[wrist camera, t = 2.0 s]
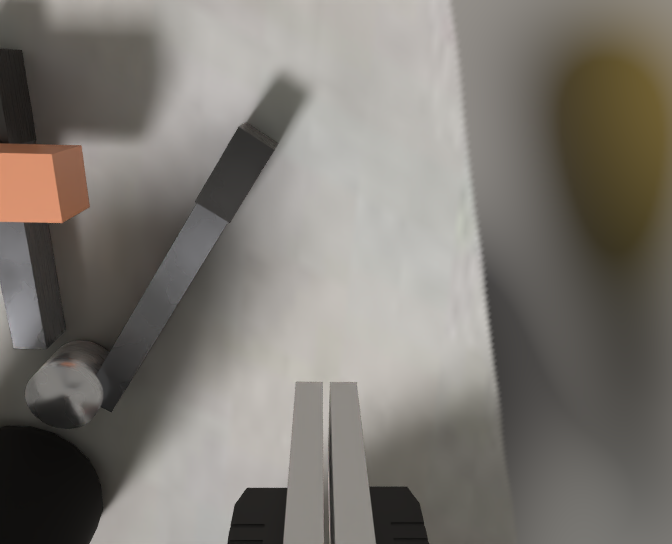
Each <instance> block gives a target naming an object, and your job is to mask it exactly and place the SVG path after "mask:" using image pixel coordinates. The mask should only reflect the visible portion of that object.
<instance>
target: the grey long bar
mask: <svg viewBox="0 0 672 544" xmlns="http://www.w3.org/2000/svg"><path fill="white" fill-rule="evenodd" d="M277 145H278V143H277V142H275V141H274V140H272V139H271V138H269V137H267V136H266V135H264V134H263V133H261V132H260V131H258V130H257V129H255V128H254V127H252V126H251V125H249V124H248V123H246V122H245V123H244V124H242V125H241V126H239V127H238V129H237V131H236V132H235V134H234V136H233V137H232V139H231V141H230V143H229V144H228V146H227V148H226V149H225V151H224V153H223V155H222V156H221V158H220V160H219V161H218V163H217V165H216V167H215V168H214V170H213V172H212V173H211V175H210V177H209V179H208V180H207V182H206V184H205V185H204V187H203V189H202V191H201V192H200V194H199V196H198V197H197V199H196V201H195V202H196V203H197V204H196V206H195V207H194V209H193V211H192V212H191V214H190V216H189V217H188V219H187V221H186V223H185V224H184V226H183V228H182V229H181V231H180V233H179V235H178V236H177V238H176V240H175V241H174V243H173V245H172V247H171V248H170V250H169V252H168V253H167V255H166V257H165V258H164V260H163V262H162V264H161V265H160V267H159V269H158V270H157V272H156V274H155V276H154V277H153V279H152V281H151V282H150V284H149V286H148V288H147V289H146V291H145V293H144V294H143V296H142V298H141V299H140V301H139V303H138V305H137V306H136V308H135V310H134V311H133V313H132V315H131V317H130V318H129V320H128V322H127V323H126V325H125V327H124V329H123V330H122V332H121V334H120V335H119V337H118V339H117V340H116V342H115V344H114V346H113V347H112V349H111V351H110V352H108V351H107V350H106V349H105V348H103V347H102V346H100V345H98V344H96V343H93V342H89V341H72V342H69V343H66V344H64V345H63V346H61V347H60V348H59V349H58V350H57V351H56V352H55V353H54V354H53V355H52V356H51V357H50V358H49V359H48V360H47V361H46V363H45V364H44V365H43V366H42V367H41V368H40V369H39V370H38V371H37V372H36V373H35V374H34V375H33V376H32V377H31V378H30V380H29V381H28V383H27V385H26V388H25V399H26V402H27V405H28V407H29V409H30V410H31V412H32V413H33V414H34V415H35V416H36V417H37V418H38V419H40V420H41V421H42V422H44V423H46V424H48V425H50V426H53V427H57V428H63V429H71V428H77V427H80V426H83V425H85V424H87V423H88V422H89V421H90V420H91V419H92V418H93V417H94V416H95V414H96V413H97V411H98V410H99V408H100V407H102V408H104V409H106V410H108V411H110V412H112V411H113V409H114V407H115V406H116V404H117V402H118V401H119V399H120V398H121V396H122V394H123V393H124V391H125V390H126V388H127V386H128V385H129V383H130V381H131V380H132V378H133V376H134V375H135V373H136V372H137V370H138V368H139V367H140V365H141V363H142V362H143V360H144V358H145V357H146V355H147V354H148V352H149V350H150V349H151V347H152V345H153V344H154V342H155V341H156V339H157V337H158V336H159V334H160V332H161V331H162V329H163V327H164V326H165V324H166V323H167V321H168V319H169V318H170V316H171V314H172V313H173V311H174V309H175V308H176V306H177V305H178V303H179V301H180V300H181V298H182V296H183V295H184V293H185V291H186V290H187V288H188V287H189V285H190V283H191V282H192V280H193V278H194V277H195V275H196V274H197V272H198V270H199V269H200V267H201V265H202V264H203V262H204V260H205V259H206V257H207V256H208V254H209V252H210V251H211V249H212V247H213V246H214V244H215V242H216V241H217V239H218V238H219V236H220V234H221V233H222V231H223V229H224V228H225V226H226V225H227V223H228V222H229V223H230V222H231V220H232V218H233V217H234V215H235V213H236V212H237V210H238V209H239V207H240V205H241V204H242V202H243V200H244V199H245V197H246V195H247V194H248V192H249V191H250V189H251V187H252V186H253V184H254V182H255V181H256V179H257V178H258V176H259V174H260V173H261V171H262V169H263V168H264V166H265V164H266V163H267V161H268V160H269V158H270V156H271V155H272V153H273V151H274V150H275V148H276V147H277Z"/></svg>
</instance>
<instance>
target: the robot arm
mask: <svg viewBox="0 0 672 544" xmlns="http://www.w3.org/2000/svg"><path fill="white" fill-rule="evenodd" d="M328 489H329V537H330V544H429V542H428V538H427V533H426V529H425V526H424V521H423V516H422V512H421V508H420V503H419V502H418V501H417V499H416V498H415V497H414V495H413V494H412V493H411V491H410V490H409V489H408V487H369V482H368V474H367V465H366V457H365V449H364V440H363V432H362V424H361V415H360V407H359V398H358V390H357V382H330V402H329V438H328ZM228 544H324V494H323V382H296V387H295V399H294V412H293V425H292V438H291V450H290V463H289V476H288V488H247V489H246V490H245V491H244V493H243V494H242V495H241V497H240V498H239V500H238V501H237V502H236V504H235V506H234V511H233V516H232V521H231V528H230V531H229V536H228Z"/></svg>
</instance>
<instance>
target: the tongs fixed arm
mask: <svg viewBox="0 0 672 544" xmlns="http://www.w3.org/2000/svg"><path fill="white" fill-rule="evenodd" d="M35 140H36V135H35V129H34V123H33V116H32V110H31V104H30V98H29V92H28V86H27V80H26V74H25V67H24V61H23V55H22V50H11V49H0V143H4V144H35ZM0 284H1V289H2V293H3V298H4V303H5V308H6V313H7V318H8V323H9V328H10V333H11V337H12V342H13V347H14V349H47V348H48V347H49V346H50V345H51V344H52V343H53V342H54V341H55V340H56V339H57V338H58V337H59V336H60V335H61V334H62V333H63V332H64V331H65V330H66V329H65V323H64V317H63V311H62V304H61V298H60V292H59V286H58V280H57V274H56V268H55V262H54V256H53V250H52V244H51V238H50V232H49V225H48V223H38V222H0Z"/></svg>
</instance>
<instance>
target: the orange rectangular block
mask: <svg viewBox="0 0 672 544" xmlns="http://www.w3.org/2000/svg"><path fill="white" fill-rule="evenodd" d="M89 207H90V205H89V198H88V191H87V183H86V176H85V168H84V161H83V154H82V146H81V145H45V144H4V143H0V222H38V223H63V222H65V221H67V220H68V219H70V218H72V217H74V216H75V215H77V214H79V213H80V212H82V211H84V210H86V209H87V208H89Z"/></svg>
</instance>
